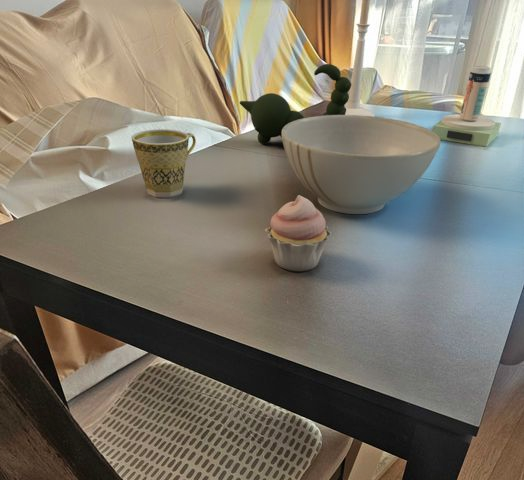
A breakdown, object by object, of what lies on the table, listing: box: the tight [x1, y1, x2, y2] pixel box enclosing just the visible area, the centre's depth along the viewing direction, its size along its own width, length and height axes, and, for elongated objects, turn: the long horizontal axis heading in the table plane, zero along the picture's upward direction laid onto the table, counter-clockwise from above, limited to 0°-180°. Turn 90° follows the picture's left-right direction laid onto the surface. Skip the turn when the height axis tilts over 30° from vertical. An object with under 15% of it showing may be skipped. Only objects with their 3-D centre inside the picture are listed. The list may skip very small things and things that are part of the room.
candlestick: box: [344, 0, 375, 117], centre depth 139 cm, size 13×13×30 cm
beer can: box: [459, 65, 492, 122], centre depth 127 cm, size 5×5×12 cm
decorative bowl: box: [281, 115, 441, 215], centre depth 90 cm, size 27×27×12 cm
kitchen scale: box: [431, 113, 502, 148], centre depth 132 cm, size 14×14×4 cm
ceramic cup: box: [131, 128, 197, 199], centre depth 93 cm, size 13×10×10 cm
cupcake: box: [264, 194, 332, 272], centre depth 71 cm, size 9×9×10 cm
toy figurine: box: [239, 63, 352, 145], centre depth 117 cm, size 9×19×25 cm
